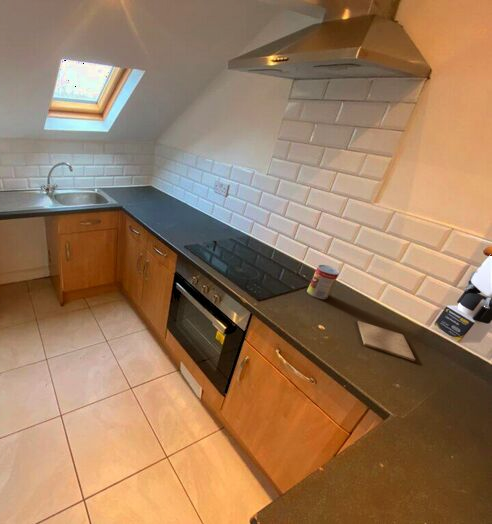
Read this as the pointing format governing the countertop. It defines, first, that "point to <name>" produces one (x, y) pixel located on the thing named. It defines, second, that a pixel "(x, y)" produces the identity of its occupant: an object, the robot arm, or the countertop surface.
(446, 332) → the medicine bottle
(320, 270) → the canned food
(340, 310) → the countertop surface
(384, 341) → the cork mat
